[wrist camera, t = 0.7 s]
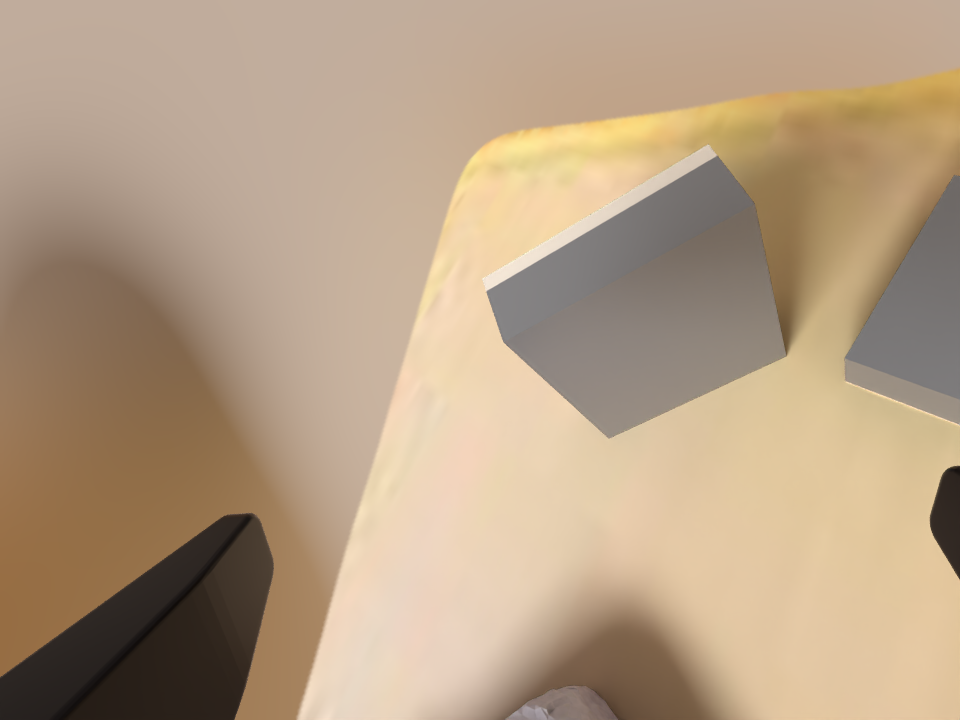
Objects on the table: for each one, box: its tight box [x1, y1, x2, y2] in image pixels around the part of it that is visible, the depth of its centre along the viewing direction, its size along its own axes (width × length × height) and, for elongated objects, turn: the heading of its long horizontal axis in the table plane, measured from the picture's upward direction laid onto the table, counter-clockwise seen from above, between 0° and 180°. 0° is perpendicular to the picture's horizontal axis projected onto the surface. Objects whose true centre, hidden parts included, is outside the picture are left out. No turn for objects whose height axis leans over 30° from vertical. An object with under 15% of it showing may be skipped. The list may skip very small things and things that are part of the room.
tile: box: [482, 144, 786, 438], centre depth 19 cm, size 2×7×9 cm, turn 107°
